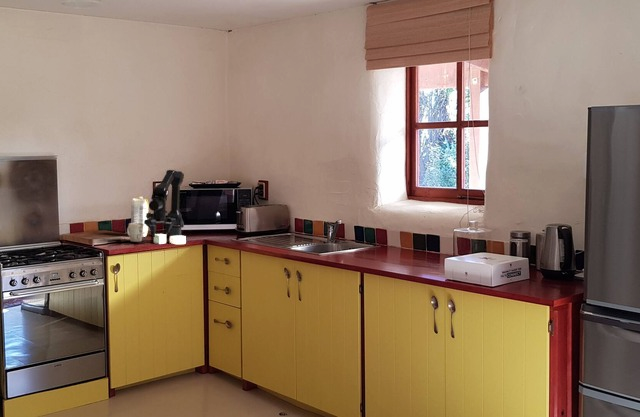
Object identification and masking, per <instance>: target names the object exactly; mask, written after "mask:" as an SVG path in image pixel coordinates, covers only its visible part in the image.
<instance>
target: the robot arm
mask: <svg viewBox="0 0 640 417" xmlns="http://www.w3.org/2000/svg"><path fill="white" fill-rule="evenodd" d="M184 177H185V174H184V173H183V172H182V171H179V170H175V169H168V170H166V174H165V175H164V177H163V178H162V181H161V182H160V183H159V184H157V185H156V186H155V187H154V189H153V192H152V195H151V197H150V198H151V201H150V202H148V205H149V207H148V209H149V210H151V211H153V213H151V212H148V213H146V218H147V219H145V221H144V224H146V226H148V229H149V230H150V232H151V233H150V234H151V235H152V237H153V238H154V237H155V234H156V232H157V231H156V230H157V225H156V224H164V228H165V230H164V233H165V235H166V237H168V238H170V236H174V235H181V236H182V228H185V223H184V220H183V218H182V216H183V215H182V213H181V212H180V193H181V192H180V190H181V186H182V184H183V182H184ZM170 186H171V200H170V201H171V202H170V204H171V205H170V211H169V212H168V211H167V210H166V209H167V206H166V204H167V201H168V200H167V198H168V196H169V187H170ZM166 214H167V217H166Z"/></svg>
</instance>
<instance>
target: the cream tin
mask: <svg viewBox="0 0 640 417" xmlns="http://www.w3.org/2000/svg"><path fill="white" fill-rule="evenodd" d="M186 237H187V236H186V235H182V234H181V235H174V236H170V237H169V244H170V243H171V244H170V245H185V244H186V243H187V240H186V239H187V238H186Z"/></svg>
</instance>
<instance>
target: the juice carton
mask: <svg viewBox="0 0 640 417" xmlns="http://www.w3.org/2000/svg"><path fill="white" fill-rule="evenodd" d="M130 212H131V214H130V216H131V220H130V223H143V224H144V221H145V219H147V218H146V213H149V199H148V198H144V196H140V195H139V196H138V198H137V197H134V198H132V201H131V210H130ZM148 232H149V227H148V226H146V224H144V226H143V232H142V238H146V237H147V235H148Z"/></svg>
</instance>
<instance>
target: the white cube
mask: <svg viewBox="0 0 640 417" xmlns="http://www.w3.org/2000/svg"><path fill="white" fill-rule="evenodd" d="M153 244H157V245H163V244H167V236H166V235H165V234H164V233H155V237H153Z"/></svg>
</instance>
